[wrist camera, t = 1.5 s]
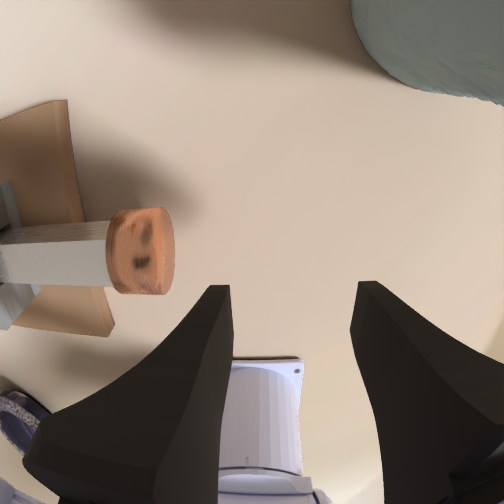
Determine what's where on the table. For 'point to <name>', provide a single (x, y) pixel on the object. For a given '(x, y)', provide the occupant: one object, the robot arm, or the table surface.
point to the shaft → (94, 253)
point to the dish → (19, 418)
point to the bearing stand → (44, 220)
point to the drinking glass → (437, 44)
